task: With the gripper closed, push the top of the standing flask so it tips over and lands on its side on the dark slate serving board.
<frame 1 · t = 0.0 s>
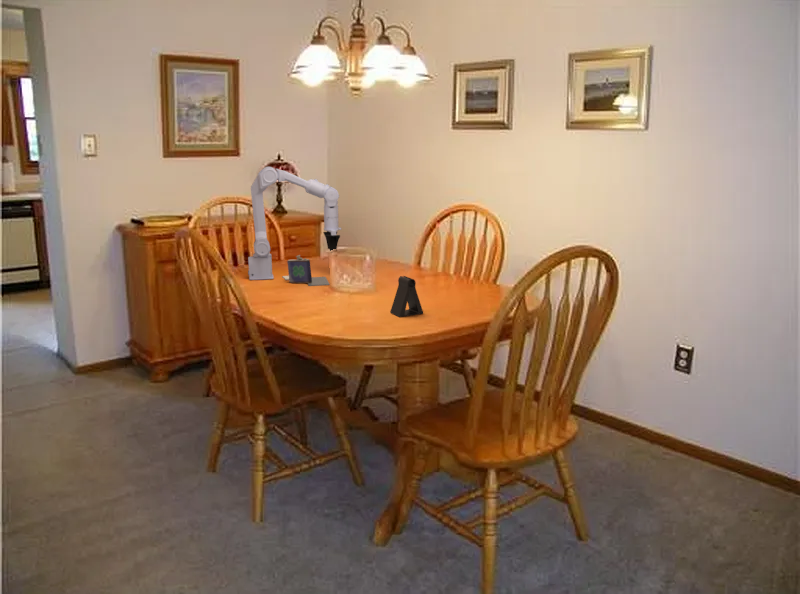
hand: (331, 250, 280), 10 cm above the table, tool pointing down, fingers open, 7 cm apart
board: (317, 281, 269), on the table
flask: (300, 282, 267), on the table, touching board
napkin: (293, 277, 276), on the table
phone stand: (406, 314, 223), on the table
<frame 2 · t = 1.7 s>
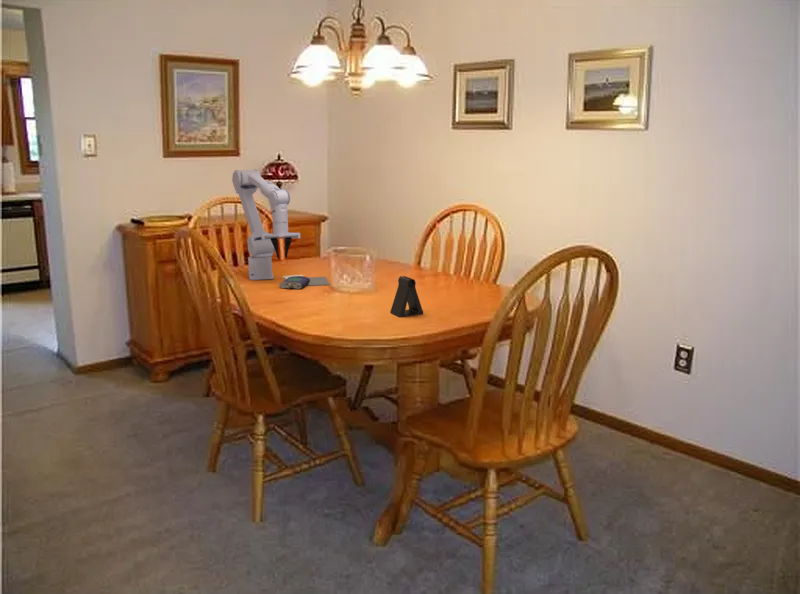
hand: (282, 257, 263), 10 cm above the table, tool pointing down, fingers closed
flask: (299, 279, 265), point 2 cm above the table, touching board
everything else where it was.
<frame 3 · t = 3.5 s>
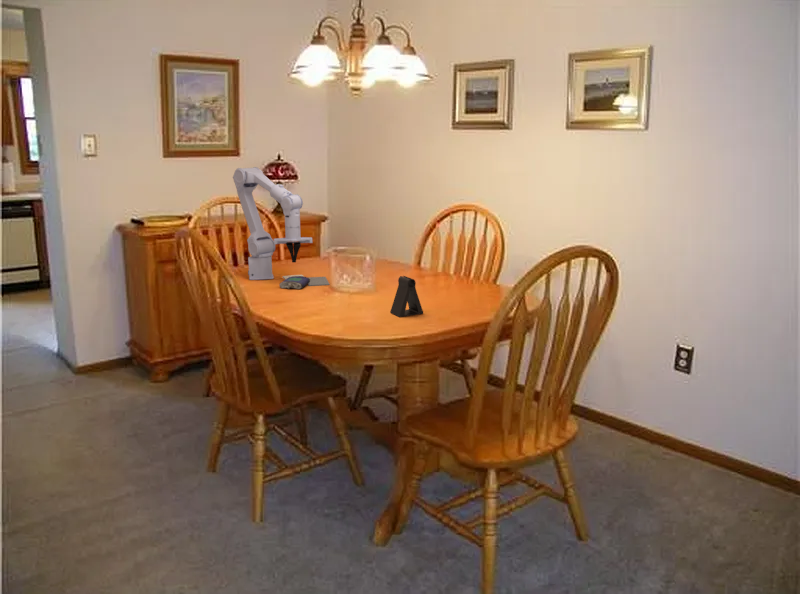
hand: (294, 262, 264), 8 cm above the table, tool pointing down, fingers closed
nothing on the table moved.
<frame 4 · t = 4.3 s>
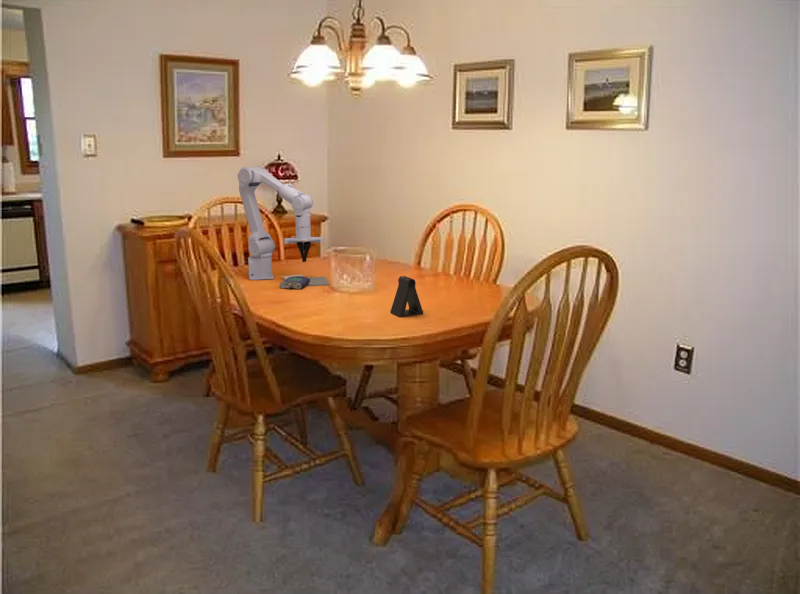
hand: (304, 261, 265), 8 cm above the table, tool pointing down, fingers closed
nothing on the table moved.
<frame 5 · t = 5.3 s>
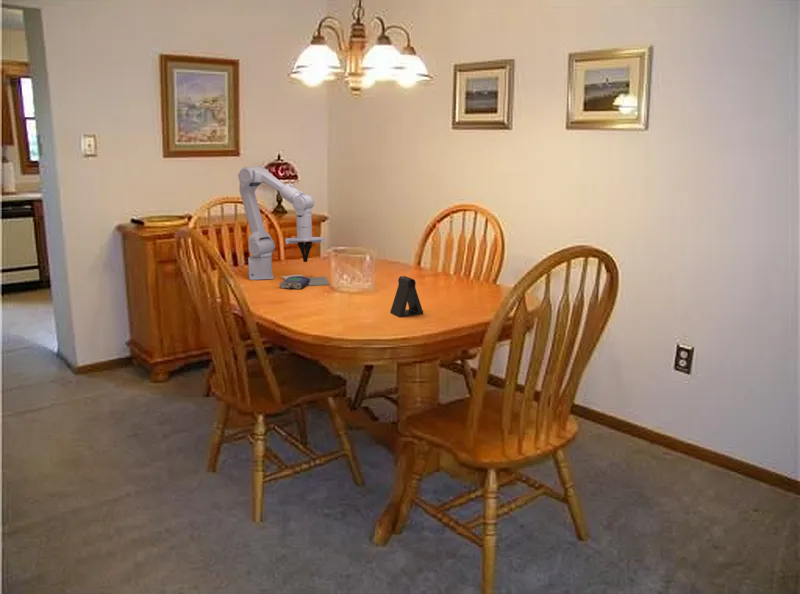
hand: (305, 261, 265), 8 cm above the table, tool pointing down, fingers closed
nothing on the table moved.
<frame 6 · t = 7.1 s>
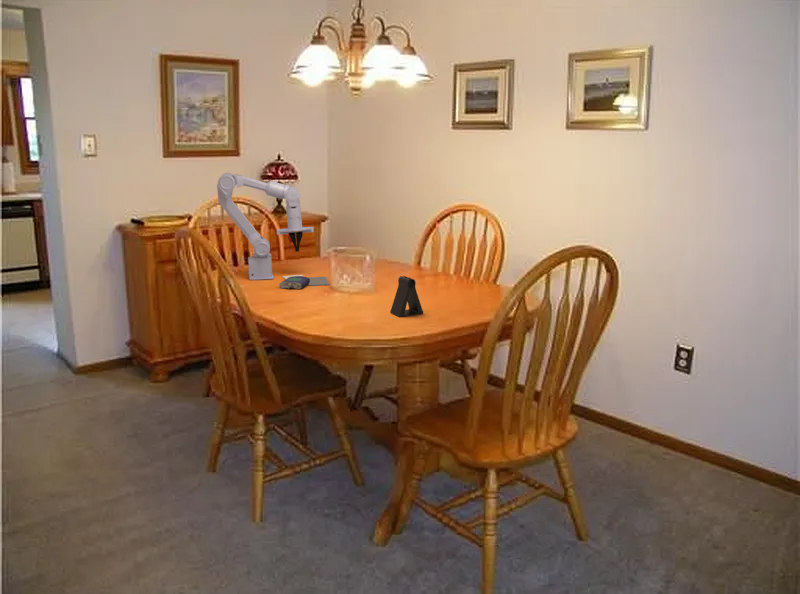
hand: (297, 251, 276), 10 cm above the table, tool pointing down, fingers closed
nothing on the table moved.
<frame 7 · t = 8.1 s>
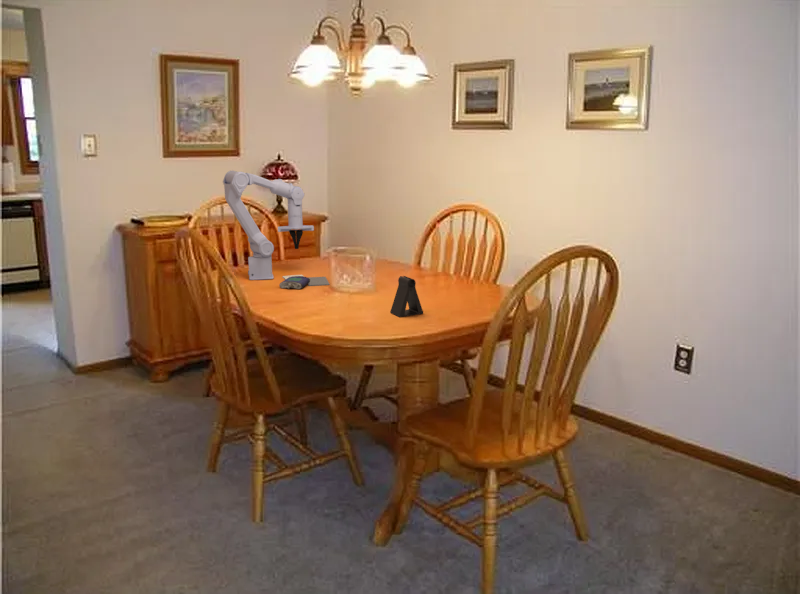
hand: (296, 248, 283), 10 cm above the table, tool pointing down, fingers closed
nothing on the table moved.
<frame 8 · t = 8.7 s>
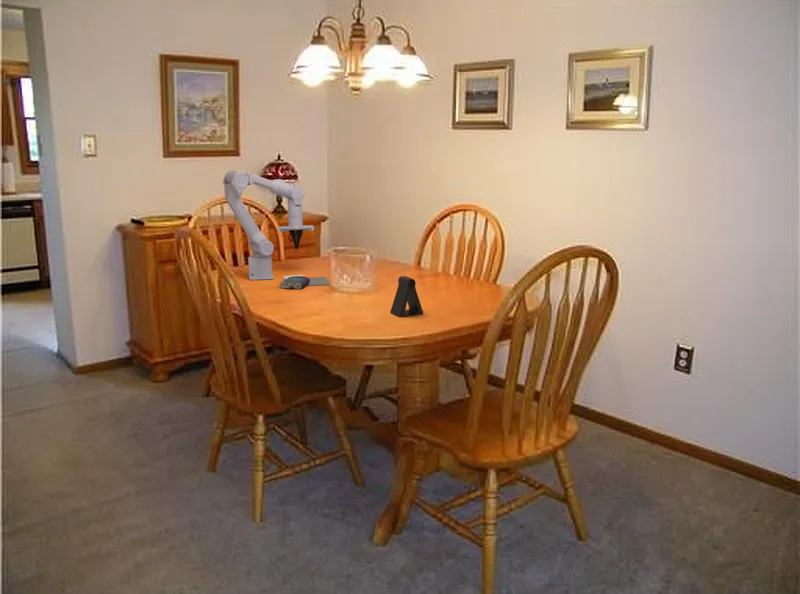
hand: (296, 248, 283), 10 cm above the table, tool pointing down, fingers closed
nothing on the table moved.
at the end: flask tilted 91°; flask touching board, table; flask inside the target area (7.3 cm from its centre), point 1.6 cm above the table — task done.
